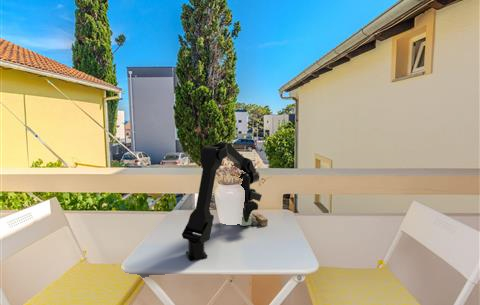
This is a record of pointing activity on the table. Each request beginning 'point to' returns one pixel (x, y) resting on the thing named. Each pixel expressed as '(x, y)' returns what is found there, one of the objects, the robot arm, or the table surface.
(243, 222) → the hinge leaf
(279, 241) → the table surface
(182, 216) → the table surface
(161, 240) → the table surface
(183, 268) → the table surface
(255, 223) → the hinge base
